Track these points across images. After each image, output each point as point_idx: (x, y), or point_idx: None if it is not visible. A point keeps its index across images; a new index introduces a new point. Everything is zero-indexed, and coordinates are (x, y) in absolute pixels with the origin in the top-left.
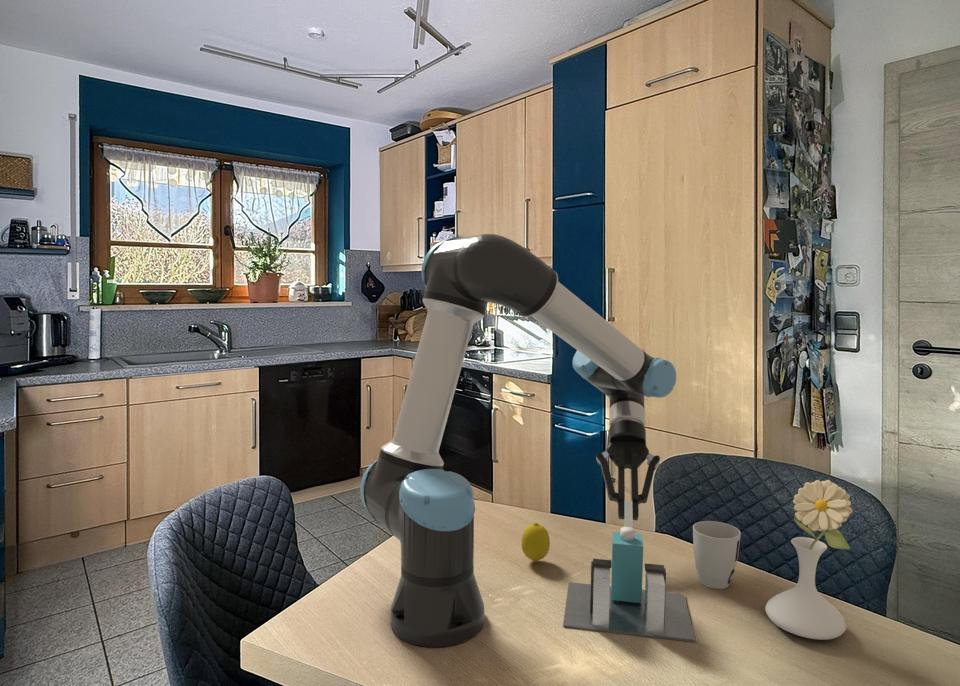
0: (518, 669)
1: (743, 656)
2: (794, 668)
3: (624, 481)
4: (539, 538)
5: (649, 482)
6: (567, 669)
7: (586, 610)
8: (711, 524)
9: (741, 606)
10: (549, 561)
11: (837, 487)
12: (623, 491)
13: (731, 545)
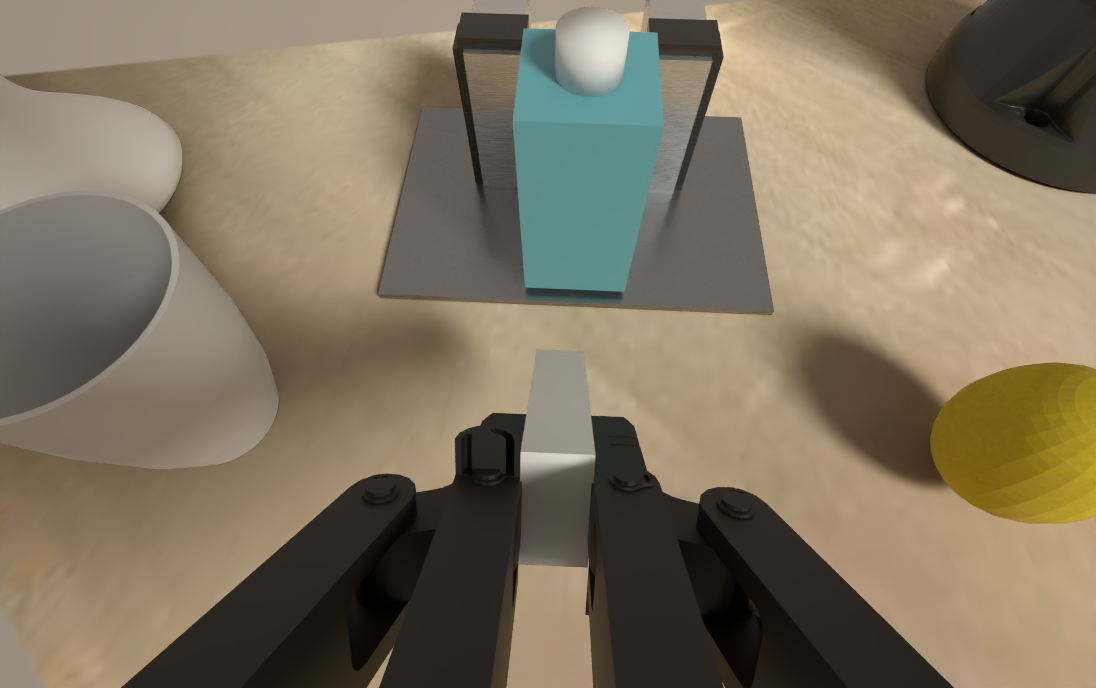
0: (793, 11)
1: (331, 87)
2: (241, 70)
3: (610, 624)
4: (1023, 366)
5: (228, 611)
6: None
7: (690, 174)
8: None
9: (215, 269)
10: (898, 487)
11: None
12: (612, 517)
13: (59, 229)
